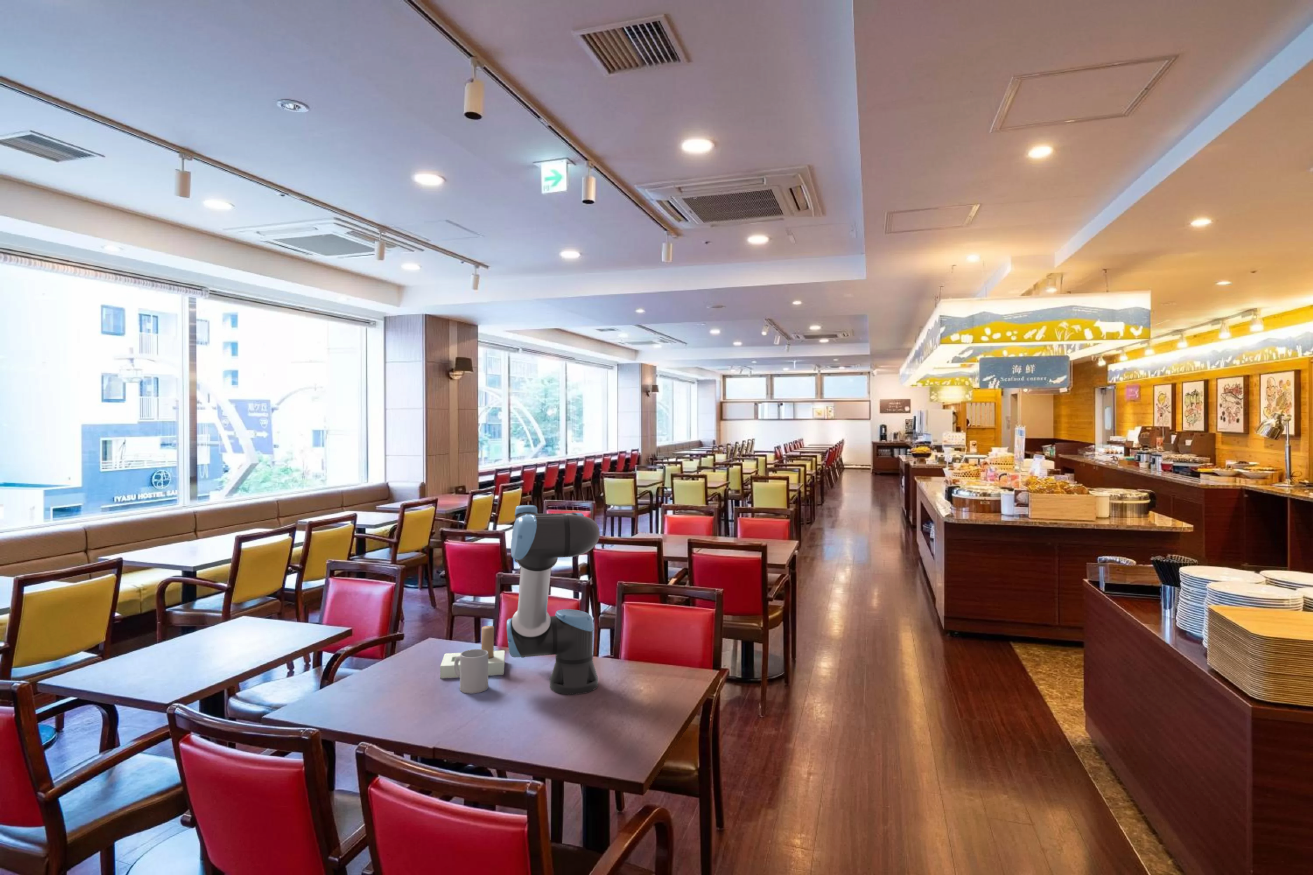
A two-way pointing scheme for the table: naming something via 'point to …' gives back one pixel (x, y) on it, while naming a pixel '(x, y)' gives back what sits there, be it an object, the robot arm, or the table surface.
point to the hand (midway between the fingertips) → (525, 618)
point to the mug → (472, 670)
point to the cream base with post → (487, 643)
